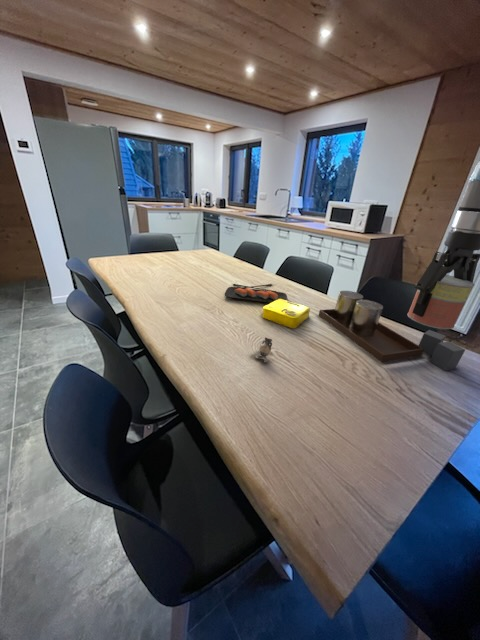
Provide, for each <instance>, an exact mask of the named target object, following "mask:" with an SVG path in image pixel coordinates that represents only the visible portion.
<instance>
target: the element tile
mask: <svg viewBox="0 0 480 640" xmlns="http://www.w3.org/2000/svg"><path fill="white" fill-rule="evenodd" d="M310 311H311V308H310V307H309V306H305V305H302V304H300V303H296V302H293V301H289V300H287V301H286V300H283V299H278V300H276V301H274V302H272V303H267V304H266V305H264V306H263V308H262V315H261V316H262V318H263V319H265V320H267V321H270V322H273V323H276V324H278V325H281V326H284V327H286V328H290V329H296V328H297V327H300V325H302V323H303V322H304V321H305V320H307V319H308V318H309V316H310Z"/></svg>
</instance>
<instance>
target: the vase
mask: <svg viewBox="0 0 480 640" xmlns="http://www.w3.org/2000/svg"><path fill="white" fill-rule="evenodd" d="M272 342H273V339H272V338H268V337H264V340H262V342H261V345H260V346H259V354H260V355H252V358H256V359H258V360H259V359H263V362H264V363H268V362H269V361H270V360H269V359H267V356H269V355H270V353H271V351H272V346H273V343H272Z"/></svg>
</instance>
